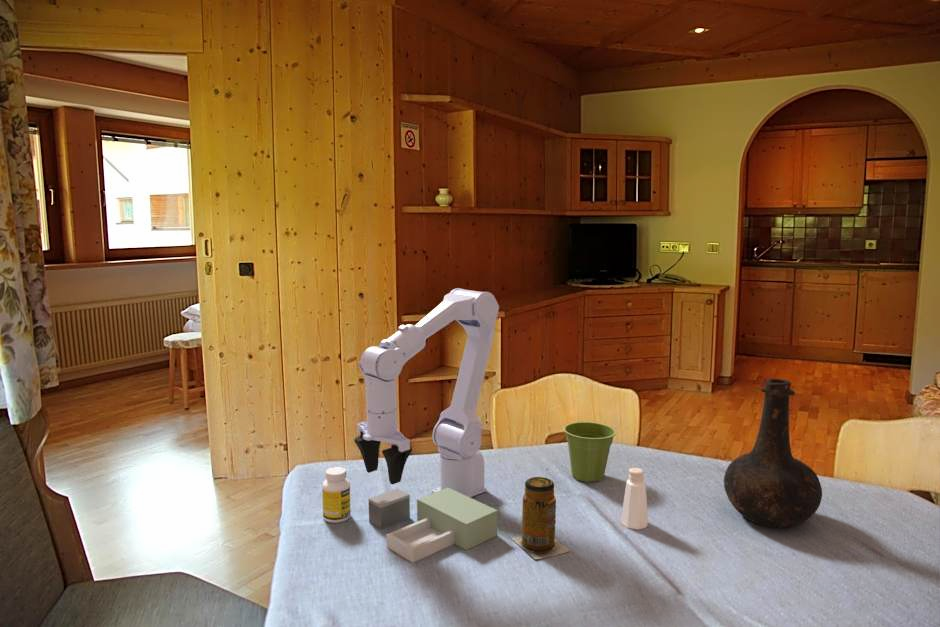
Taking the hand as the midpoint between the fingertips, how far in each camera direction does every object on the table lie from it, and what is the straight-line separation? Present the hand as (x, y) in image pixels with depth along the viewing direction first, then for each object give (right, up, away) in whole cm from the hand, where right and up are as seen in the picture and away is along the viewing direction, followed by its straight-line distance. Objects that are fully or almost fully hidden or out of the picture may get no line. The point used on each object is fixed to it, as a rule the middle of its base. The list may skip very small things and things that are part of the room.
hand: (383, 476), depth 129 cm
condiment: (+30, -11, -7) cm, 32 cm away
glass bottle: (+77, -9, +4) cm, 77 cm away
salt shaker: (+49, -10, +1) cm, 50 cm away
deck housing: (+11, -10, -5) cm, 16 cm away
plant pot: (+44, -6, +24) cm, 50 cm away
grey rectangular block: (+1, -9, +2) cm, 10 cm away
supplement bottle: (-10, -9, +3) cm, 14 cm away
